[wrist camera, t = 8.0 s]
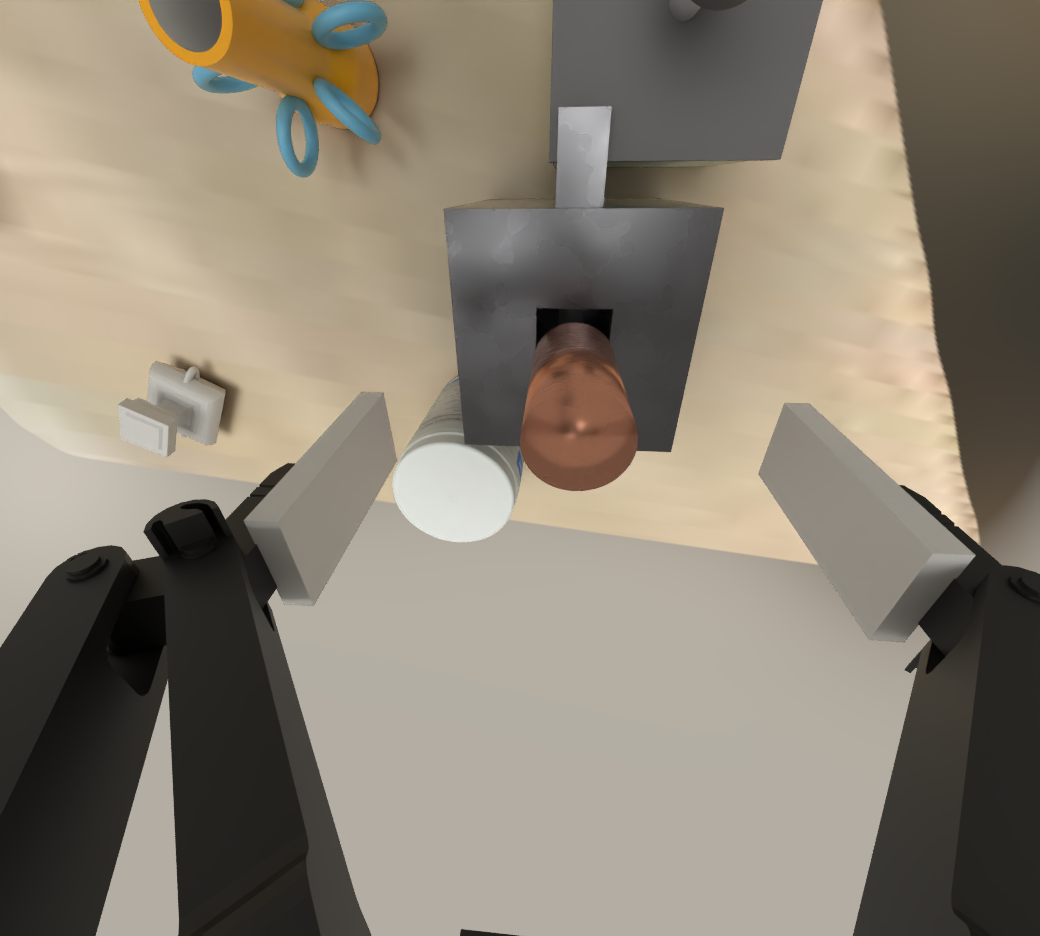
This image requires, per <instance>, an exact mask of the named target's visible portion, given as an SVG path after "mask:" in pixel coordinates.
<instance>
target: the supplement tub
mask: <svg viewBox="0 0 1040 936" xmlns="http://www.w3.org/2000/svg"><path fill="white" fill-rule="evenodd" d="M523 462H524V458H523V456H522V452H521V447H520V446H494V445H466V444H465V443H464V432H463V420H462V409H461V398H460V387H459V376H458V377H456V378H454V379H453V380H451V381H450V382H449V383H448V384H447V385H446V387H445V388H444V389H443V391H442V392H441V394H440V395H439V397H438V399H437V400H436V402H435V403H434V405H433V406H432V408H431V409H430V411H429V413H428V414H427V416H426V417H425V419H424V420H423V422H422V423H421V425H420V427H419V428H418V430H417V431H416V433H415V434H414V436H413V438H412V439H411V441H410V442H409V444H408V445H407V447H406V449H405V450H404V452H403V454H402V455H401V457H400V459H399V462H398V465H397V467H396V469H395V472H394V476H393V494H394V498H395V500H396V503H397V505H398V507H399V509H400V510H401V512H402V513H403V514H404V516H405V517H406V518H407V519H408V520H409V521H410V522H411V523H412V524H413V525H415V526H416V527H417V528H419V529H420V530H422V531H423V532H425V533H427V534H429V535H431V536H433V537H436V538H439V539H442V540H446V541H452V542H472V541H477V540H481V539H484V538H487V537H489V536H491V535H493V534H495V533H496V532H497V531H499V530H500V529H501V528H502V527H503V526H504V525H505V524H506V523H507V521H508V520H509V518H510V516H511V514H512V511H513V507H514V505H515V503H516V500H517V496H518V491H519V486H520V481H521V475H522V468H523Z"/></svg>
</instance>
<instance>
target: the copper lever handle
mask: <svg viewBox="0 0 1040 936" xmlns="http://www.w3.org/2000/svg"><path fill="white" fill-rule="evenodd" d="M637 444H638V434H637V429H636V425H635V421H634V418H633V415H632V411H631V408H630V405H629V402H628V398H627V395H626V392H625V388H624V385H623V382H622V379H621V375H620V372H619V369H618V365H617V362H616V359H615V356H614V352H613V349H612V346H611V344H610V342H609V340H608V339H607V338H606V336H605V335H604V334H603V333H602V332H601V331H599V330H598V329H597V328H595V327H593V326H591V325H588V324H584V322H583V316H582V309H561V308H559V317H558V326H557V327H555V328H553V329H552V330H550V331H549V332H548V333H547V334H545V335H544V337H543V338H542V339H541V340H540V342H539V343H538V345H537V347H536V350H535V353H534V358H533V364H532V370H531V376H530V382H529V388H528V393H527V399H526V405H525V411H524V417H523V423H522V429H521V435H520V447H521V452H522V456H523V458H524V461H525V463H526V464H527V466H528V467H529V469H530V470H531V471H532V472H533V473H534V474H535V475H536V476H537V477H538V478H539V479H541V480H542V481H544V482H545V483H547V484H549V485H551V486H553V487H556V488H559V489H564V490H570V491H585V490H591V489H596V488H599V487H602V486H604V485H606V484H608V483H610V482H612V481H613V480H615V479H616V478H618V477H619V476H620V475H621V474H622V473H623V472H624V471H625V470H626V469H627V468H628V466H629V465H630V463H631V462H632V460H633V458H634V456H635V453H636V449H637Z"/></svg>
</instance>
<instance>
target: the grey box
mask: <svg viewBox="0 0 1040 936" xmlns="http://www.w3.org/2000/svg"><path fill="white" fill-rule="evenodd" d="M611 110H612V106H599V107H559V115H558V145H557V175H556V199H490V200H485V201H480V202H475V203H471V204H466V205H461V206H456V207H451V208H447V209H444V218H445V229H446V240H447V252H448V263H449V274H450V285H451V297H452V308H453V319H454V330H455V342H456V353H457V364H458V375H459V387H460V398H461V409H462V420H463V432H464V443H465V444H466V445H494V446H520V435H521V429H522V423H523V417H524V411H525V405H526V399H527V393H528V388H529V382H530V376H531V370H532V364H533V358H534V353H535V350H536V347H537V345H538V343H539V342H540V340H541V339H542V338H543V337H544V335H545V334H547V333H548V332H549V331H550V330H552V329H553V328H555V327H557V326H558V317H559V308H561V309H582V316H583V322H584V324H588V325H591V326H593V327H595V328H597V329H598V330H599V331H601V332H602V333H603V334H604V335H605V336H606V338H607V339H608V340H609V342H610V344H611V346H612V349H613V352H614V356H615V359H616V362H617V365H618V369H619V372H620V375H621V379H622V382H623V385H624V388H625V392H626V395H627V398H628V402H629V405H630V408H631V411H632V415H633V418H634V421H635V425H636V429H637V434H638V444H637V449H636V451H658V452H671V449H672V445H673V440H674V436H675V431H676V426H677V422H678V417H679V413H680V408H681V403H682V399H683V394H684V390H685V385H686V380H687V376H688V371H689V367H690V362H691V357H692V353H693V348H694V344H695V339H696V335H697V330H698V325H699V321H700V316H701V312H702V307H703V302H704V298H705V293H706V289H707V284H708V279H709V275H710V270H711V266H712V261H713V257H714V252H715V247H716V243H717V238H718V234H719V229H720V224H721V220H722V215H723V211H724V208H720V207H713V206H706V205H699V204H693V203H686V202H679V201H672V200H665V199H604V192H605V180H606V168H607V156H608V145H609V133H610V121H611Z"/></svg>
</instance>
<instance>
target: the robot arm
mask: <svg viewBox="0 0 1040 936" xmlns="http://www.w3.org/2000/svg"><path fill="white" fill-rule="evenodd" d="M396 461H397V458H396V453H395V448H394V443H393V438H392V433H391V428H390V423H389V418H388V413H387V408H386V403H385V398H384V393H381V392H361V393H360V394H359V395H358V396H357V398H356V399H355V400H354V401H353V402H352V403H351V404H350V405H349V406H348V407H347V408H346V409H345V411H344V412H343V413H342V414H341V415H340V416H339V417H338V418H337V419H336V420H335V421H334V423H333V424H332V425H331V426H330V427H329V428H328V429H327V430H326V431H325V432H324V433H323V435H322V436H321V437H320V438H319V439H318V440H317V441H316V442H315V443H314V444H313V445H312V447H311V448H310V449H309V450H308V451H307V452H306V453H305V454H304V455H303V456H302V457H301V458H300V460H299V461H298V462H297V463H296V464H292V463H287V464H286V465H284V466H282V467H280V468H279V469H277V470H275V471H274V472H272V473H270V475H269V476H268V477H267V478H266V479H265V480H264V481H263V482H262V483H261V484H260V487H257V488H256V489H255V490H254V491H253V492H252V493H251V494H250V497H247V498H246V499H245V500H244V501H243V502H242V503H241V504H240V505H239V507H237V509H236V510H235V511H234V512H233V513H232V514H231V515H230V516H229V517H228V518H227V519H226V520H225V518H224V516H223V515H222V513H221V510H220V509H219V507H218V505H217V504H216V503H215V502H213V501H210V500H206V499H205V500H192V501H187V502H182V503H179V504H177V505H174V506H172V507H169V508H167V509H165V510H163V511H162V512H160V513H159V514H157V515H155V516H154V517H153V518H152V519H151V520H150V521H149V522H148V523H147V524H146V527H145V529H144V533H145V535H146V536H147V538H148V539H149V541H150V542H151V544H152V545H153V547H154V548H155V550H156V551H157V552H158V554H159V556H157V557H151V558H146V559H140V560H134V561H132V560H131V558H130V557H129V555H128V554H127V553H126V551H125V550H124V549H123V548H122V547H117V546H112V545H111V546H103V547H97V548H94V549H91V550H87V551H83V552H81V553H78V555H74V556H72V557H70V558H69V559H67V560H66V561H65V562H63V563H62V564H60V565H59V566H57V567H56V568H55V569H54V570H53V571H52V572H51V573H50V574H49V575H48V577H47V578H46V579H45V581H44V582H43V584H42V585H41V587H40V588H39V590H38V591H37V593H36V594H35V596H34V597H33V599H32V600H31V602H30V603H29V605H28V606H27V608H26V610H25V611H24V612H23V614H22V616H21V617H20V619H19V620H18V622H17V623H16V625H15V626H14V628H13V629H12V631H11V632H10V634H9V635H8V637H7V638H6V640H5V641H4V643H3V644H2V646H1V647H0V936H95V935H96V932H97V928H98V925H99V921H100V918H101V914H102V910H103V907H104V903H105V900H106V896H107V893H108V889H109V886H110V882H111V878H112V875H113V872H114V868H115V865H116V861H117V857H118V854H119V850H120V847H121V843H122V839H123V836H124V833H125V829H126V825H127V822H128V818H129V815H130V811H131V807H132V804H133V801H134V797H135V793H136V790H137V787H138V783H139V779H140V776H141V772H142V769H143V765H144V762H145V758H146V754H147V751H148V747H149V743H150V740H151V737H152V733H153V730H154V726H155V723H156V719H157V716H158V712H159V708H160V705H161V702H162V698H163V694H164V691H165V687H166V684H167V680H168V685H169V708H170V730H171V750H172V751H171V752H172V774H173V794H174V795H173V796H174V816H175V817H174V818H175V837H176V838H175V839H176V862H177V883H178V906H179V935H178V936H371V933H370V931H369V928H368V926H367V923H366V921H365V919H364V916H363V914H362V912H361V910H360V907H359V904H358V901H357V898H356V895H355V892H354V889H353V885H352V882H351V879H350V875H349V872H348V869H347V865H346V862H345V858H344V855H343V851H342V848H341V845H340V841H339V838H338V834H337V831H336V828H335V824H334V821H333V817H332V814H331V810H330V807H329V804H328V800H327V797H326V793H325V790H324V787H323V783H322V780H321V776H320V773H319V769H318V766H317V763H316V759H315V756H314V753H313V749H312V746H311V742H310V739H309V735H308V732H307V729H306V725H305V722H304V718H303V715H302V712H301V708H300V705H299V701H298V698H297V694H296V691H295V688H294V684H293V681H292V678H291V674H290V671H289V667H288V664H287V660H286V657H285V653H284V650H283V647H282V643H281V640H280V637H279V633H278V630H277V626H276V623H275V619H274V616H273V612H272V609H271V608H270V606H269V604H268V600H269V599H270V597H271V596H272V594H273V593H274V591H275V590H276V589H277V591H278V593H279V595H280V597H281V599H282V601H283V603H284V604H287V605H303V606H314V605H315V603H316V601H317V599H318V598H319V596H320V594H321V592H322V591H323V589H324V587H325V585H326V584H327V581H328V580H329V578H330V577H331V575H332V573H333V571H334V570H335V568H336V566H337V564H338V563H339V561H340V559H341V557H342V556H343V554H344V552H345V550H346V549H347V547H348V545H349V544H350V542H351V540H352V538H353V537H354V535H355V533H356V531H357V530H358V528H359V526H360V524H361V522H362V521H363V519H364V517H365V516H366V514H367V512H368V510H369V509H370V507H371V505H372V503H373V502H374V500H375V498H376V496H377V495H378V493H379V491H380V489H381V488H382V486H383V484H384V482H385V481H386V479H387V477H388V475H389V474H390V472H391V470H392V468H393V467H394V465H395V463H396ZM758 474H759V476H760V477H761V479H762V480H763V482H764V483H765V485H766V486H767V488H768V489H769V491H770V492H771V494H772V495H773V497H774V498H775V500H776V501H777V503H778V504H779V506H780V507H781V509H782V510H783V512H784V513H785V515H786V516H787V518H788V519H789V521H790V522H791V524H792V525H793V527H794V528H795V530H796V531H797V533H798V534H799V536H800V537H801V539H802V540H803V542H804V543H805V545H806V546H807V548H808V549H809V551H810V552H811V554H812V555H813V557H814V558H815V560H816V561H817V563H818V564H819V566H820V567H821V569H822V570H823V572H824V573H825V575H826V576H827V578H828V579H829V581H830V582H831V584H832V585H833V587H834V588H835V590H836V591H837V592H838V594H839V596H840V597H841V599H842V600H843V602H844V603H845V605H846V606H847V608H848V609H849V611H850V612H851V614H852V615H853V617H854V618H855V620H856V621H857V623H858V624H859V626H860V627H861V629H862V630H863V632H864V633H865V635H866V636H867V638H868V639H869V640H877V641H893V642H905V641H906V640H907V638H908V637H909V636H910V635H911V634H912V632H913V631H914V630H915V629H916V627H917V626H918V625H920V627H921V628H922V629H923V630H924V632H925V633H926V634H927V635H928V637H929V638H930V641H929V642H928V643H927V644H926V645H925V646H924V647H923V649H922V650H921V651H920V652H919V653H918V654H917V655H916V657H915V658H914V659H913V660H912V661H911V663H909V665H908V666H907V667H906V668H905V670H906V671H908V672H909V673H911V672H912V671H913V670H914V669H915V668H917V672H916V676H915V680H914V684H913V689H912V693H911V697H910V701H909V705H908V709H907V713H906V718H905V721H904V726H903V730H902V734H901V738H900V742H899V746H898V751H897V755H896V759H895V763H894V767H893V771H892V775H891V780H890V784H889V788H888V792H887V796H886V800H885V804H884V809H883V813H882V817H881V821H880V825H879V830H878V834H877V838H876V842H875V846H874V850H873V854H872V859H871V863H870V867H869V871H868V875H867V879H866V884H865V888H864V892H863V896H862V900H861V904H860V909H859V912H858V917H857V921H856V925H855V929H854V933H853V936H1040V574H1038V573H1036V572H1033V571H1029V570H1026V569H1023V568H1019V567H1013V566H1004V565H1003V566H1002V565H1001V564H1000V563H999V562H998V561H997V560H995V559H994V558H993V557H992V556H991V555H990V554H989V553H987V552H986V551H985V550H984V549H983V548H982V547H981V546H980V545H978V544H977V543H976V542H975V541H974V540H973V539H972V538H970V537H969V536H968V535H967V534H966V533H965V532H964V531H962V530H961V529H960V528H959V527H957V526H954V524H955V523H953V522H952V521H951V520H950V519H949V518H948V517H947V516H945V515H942V514H941V511H940V510H939V509H938V508H936V507H935V506H934V505H933V504H932V503H931V502H930V501H928V500H927V499H926V498H925V497H923V496H921V495H920V494H918V493H916V492H914V491H912V490H911V489H909V488H907V487H905V486H904V485H898V484H897V483H896V482H895V481H894V480H893V479H892V478H890V477H889V476H888V475H887V474H886V473H885V472H884V471H883V470H882V469H881V468H880V467H878V466H877V465H876V464H875V463H874V462H873V461H872V460H871V459H870V458H869V457H867V456H866V455H865V454H864V453H863V452H862V451H861V450H860V449H859V448H858V447H857V446H855V445H854V444H853V443H852V442H851V441H850V440H849V439H848V438H847V437H846V436H844V435H843V434H842V433H841V432H840V431H839V430H838V429H837V428H836V427H835V426H834V425H832V424H831V423H830V422H829V421H828V420H827V419H826V418H825V417H824V416H823V415H822V414H820V413H819V412H818V411H817V410H816V409H815V408H814V407H813V406H812V405H811V404H807V403H784V406H783V408H782V411H781V414H780V417H779V419H778V422H777V425H776V427H775V430H774V433H773V435H772V438H771V441H770V444H769V446H768V449H767V452H766V454H765V457H764V460H763V463H762V465H761V468H760V471H759V473H758ZM460 936H517V935H508V934H499V933H490V932H481V931H472V930H463V929H462V930H461V933H460Z"/></svg>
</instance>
